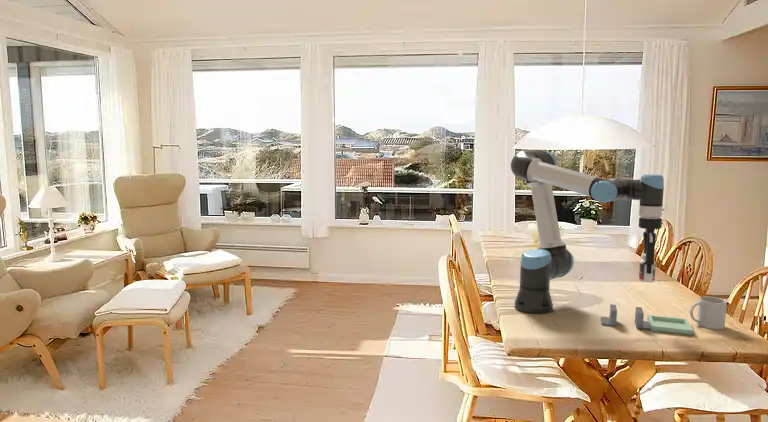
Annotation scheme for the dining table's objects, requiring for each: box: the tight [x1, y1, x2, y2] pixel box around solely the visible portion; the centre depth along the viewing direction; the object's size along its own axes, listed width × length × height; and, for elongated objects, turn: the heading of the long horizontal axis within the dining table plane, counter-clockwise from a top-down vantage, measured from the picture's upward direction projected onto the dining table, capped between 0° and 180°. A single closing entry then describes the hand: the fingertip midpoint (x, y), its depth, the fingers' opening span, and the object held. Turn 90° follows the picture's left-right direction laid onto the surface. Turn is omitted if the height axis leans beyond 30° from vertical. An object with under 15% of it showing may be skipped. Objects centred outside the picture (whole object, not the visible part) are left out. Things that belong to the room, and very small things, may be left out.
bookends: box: [600, 303, 652, 332], centre depth 208 cm, size 17×8×6 cm, turn 71°
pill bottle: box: [638, 253, 657, 283], centre depth 203 cm, size 5×5×10 cm
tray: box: [646, 314, 694, 337], centre depth 205 cm, size 13×13×2 cm
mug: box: [689, 295, 728, 330], centre depth 208 cm, size 11×10×10 cm
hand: (647, 279), depth 204 cm, fingers closed on pill bottle, 5 cm apart
